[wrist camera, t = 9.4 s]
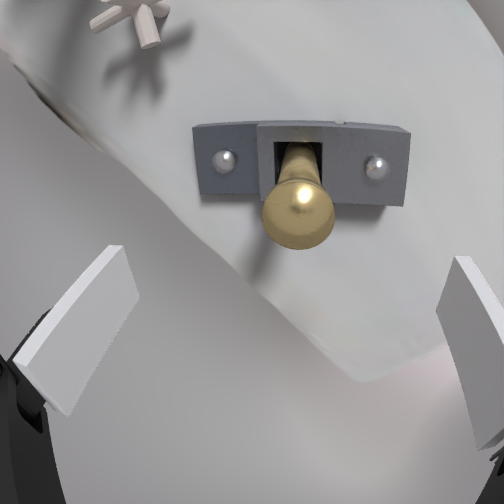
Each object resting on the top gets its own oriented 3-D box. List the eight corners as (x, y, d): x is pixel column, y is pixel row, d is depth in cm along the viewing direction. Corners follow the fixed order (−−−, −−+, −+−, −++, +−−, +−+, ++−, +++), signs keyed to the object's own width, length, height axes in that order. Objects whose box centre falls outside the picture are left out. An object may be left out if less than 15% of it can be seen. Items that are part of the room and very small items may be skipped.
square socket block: (198, 124, 29) (181, 132, 25) (398, 126, 26) (413, 134, 22) (205, 187, 33) (191, 204, 29) (392, 191, 29) (405, 209, 25)
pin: (279, 135, 28) (260, 183, 16) (319, 135, 28) (336, 183, 15) (280, 173, 30) (263, 248, 18) (319, 174, 30) (332, 250, 17)
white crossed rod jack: (219, 32, 24) (180, 13, 15) (133, 67, 26) (73, 70, 18) (195, -42, 19) (153, -78, 11) (113, -4, 22) (55, -17, 13)
